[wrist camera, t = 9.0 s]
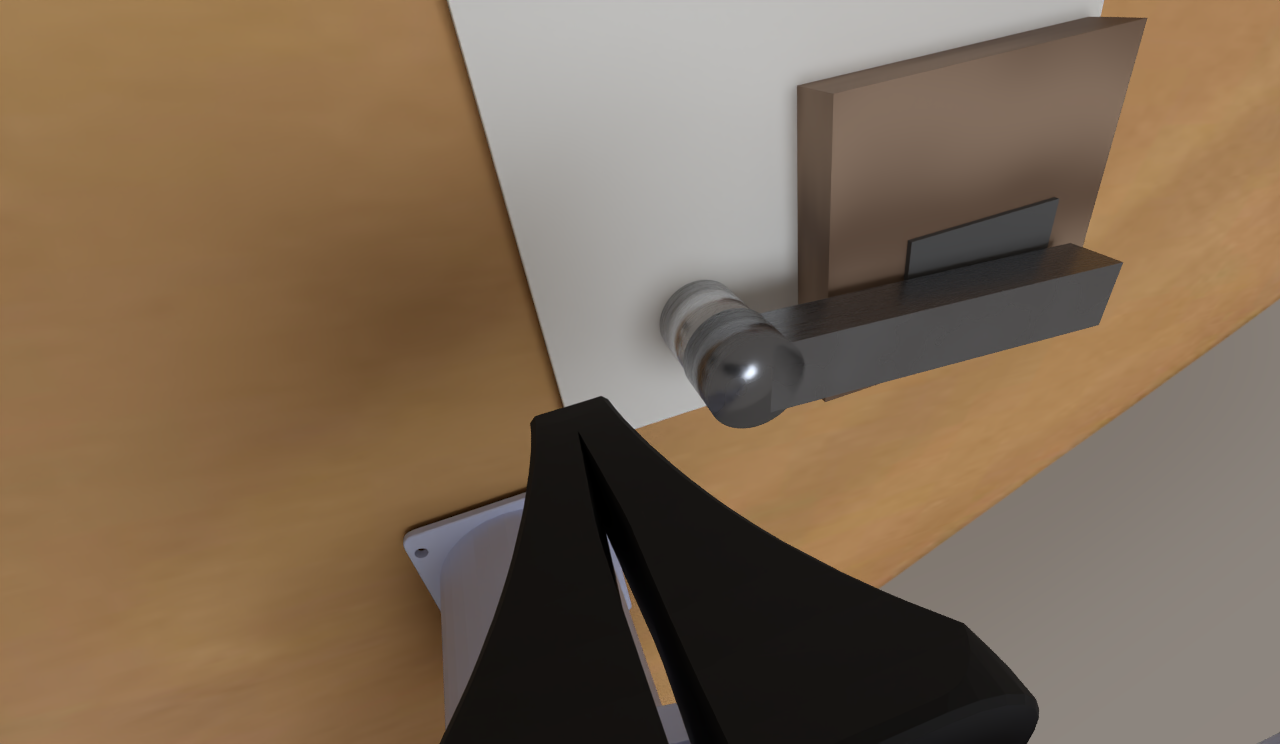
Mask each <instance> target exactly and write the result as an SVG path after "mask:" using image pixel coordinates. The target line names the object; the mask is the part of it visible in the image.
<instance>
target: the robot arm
mask: <svg viewBox="0 0 1280 744" xmlns="http://www.w3.org/2000/svg"><path fill="white" fill-rule="evenodd" d="M530 426H531V457H530V467H529V476H528V483H527V489H526V492H525V493H522V494H519V495H516V496H513V497H510V498H507V499H504V500H501V501H498V502H495V503H492V504H489V505H486V506H483V507H480V508H477V509H474V510H471V511H468V512H465V513H462V514H459V515H456V516H453V517H450V518H447V519H444V520H441V521H438V522H435V523H432V524H429V525H426V526H423V527H420V528H417V529H414V530H412V531H410V532H408V533H407V534H406V535H405V536H404V539H403V546H404V549H405V551H406V552H407V554H408V556H409V558H410V559H411V561H412V563H413V565H414V566H415V568H416V570H417V571H418V573H419V575H420V577H421V578H422V580H423V582H424V584H425V585H426V587H427V589H428V590H429V592H430V594H431V596H432V597H433V599H434V601H435V603H436V604H437V606H438V608H439V610H440V611H441V623H442V650H443V677H444V704H445V730H446V731H445V733H444V735H443V737H442V740H441V742H440V744H1027V742H1028V741H1029V739H1030V737H1031V735H1032V734H1033V732H1034V730H1035V727H1036V724H1037V721H1038V718H1039V707H1038V704H1037V701H1036V699H1035V697H1034V696H1033V695H1032V694H1031V693H1030V692H1029V690H1028V689H1027V688H1026V687H1025V686H1024V685H1023V683H1022V682H1021V681H1020V680H1019V679H1018V677H1017V676H1016V675H1015V674H1014V673H1013V672H1012V670H1011V669H1010V668H1009V667H1008V666H1007V665H1006V664H1005V663H1004V662H1003V661H1002V660H1001V659H1000V658H999V657H998V656H997V655H996V654H995V653H994V652H993V651H992V650H991V649H990V648H989V647H988V646H987V645H986V644H985V643H984V642H983V641H982V640H981V639H980V638H979V637H977V636H976V635H975V634H974V633H973V632H972V631H971V630H970V629H969V628H968V627H967V626H966V625H965V624H964V623H961V622H959V621H956V620H953V619H951V618H949V617H946V616H944V615H941V614H938V613H936V612H933V611H931V610H928V609H925V608H923V607H920V606H918V605H915V604H913V603H910V602H907V601H905V600H903V599H901V598H898V597H895V596H893V595H891V594H889V593H886V592H884V591H882V590H879V589H877V588H875V587H873V586H871V585H869V584H866V583H864V582H862V581H860V580H858V579H855V578H853V577H851V576H849V575H847V574H845V573H842V572H840V571H838V570H837V569H835V568H833V567H831V566H829V565H827V564H825V563H823V562H821V561H819V560H817V559H816V558H814V557H812V556H810V555H808V554H806V553H804V552H802V551H800V550H798V549H796V548H794V547H793V546H791V545H789V544H787V543H785V542H783V541H781V540H780V539H778V538H776V537H775V536H773V535H771V534H770V533H768V532H766V531H765V530H763V529H761V528H760V527H758V526H756V525H755V524H753V523H752V522H750V521H749V520H747V519H745V518H744V517H742V516H741V515H739V514H738V513H736V512H735V511H733V510H732V509H730V508H729V507H727V506H726V505H724V504H723V503H722V502H720V501H719V500H717V499H716V498H715V497H713V496H712V495H710V494H709V493H708V492H706V491H705V490H704V489H703V488H701V487H700V486H699V485H697V484H696V483H695V482H693V481H692V480H691V479H690V478H688V477H687V476H686V475H685V474H683V473H682V472H681V471H680V470H678V469H677V468H676V467H675V466H674V465H672V464H671V463H670V462H669V461H668V460H667V459H666V458H665V457H663V456H662V455H661V454H660V453H659V452H658V451H657V450H655V449H654V448H653V447H652V446H651V445H650V444H649V443H648V442H647V441H646V440H645V439H644V438H643V437H642V436H641V435H640V434H639V433H638V432H637V431H636V430H635V429H634V428H633V427H632V426H631V425H630V424H629V423H628V422H627V421H626V420H625V419H624V418H623V417H622V416H621V414H620V413H619V412H618V411H617V410H616V409H615V407H614V406H613V405H612V404H611V402H610V401H609V399H607V398H605V397H603V396H599V397H596V398H593V399H590V400H586V401H583V402H580V403H577V404H573V405H570V406H567V407H564V408H560V409H557V410H554V411H551V412H547V413H544V414H541V415H538V416H535V417H534V418H533V420H532V421H531V423H530ZM421 548H424V549H425V550H421V551H420V550H418V549H421ZM622 570H623V572H622ZM623 573H624V575H625V577H626V579H627V581H628V584H629V586H630V588H631V590H632V593H633V595H634V597H635V599H636V602H637V604H638V606H639V608H640V610H641V613H642V615H643V617H644V619H645V622H646V624H647V626H648V628H649V631H650V633H651V635H652V637H653V640H654V642H655V645H656V647H657V650H658V652H659V655H660V657H661V660H662V662H663V665H664V668H665V670H666V673H667V676H668V679H669V682H670V685H671V688H672V691H673V694H674V697H675V700H676V702H677V704H676V703H673V704H669V705H664V706H662V704H661V702H660V699H659V696H658V693H657V690H656V687H655V684H654V681H653V678H652V675H651V673H650V670H649V667H648V664H647V661H646V658H645V655H644V652H643V649H642V647H641V644H640V641H639V638H638V635H637V632H636V629H635V626H634V623H633V621H632V618H631V615H630V612H629V610H630V608H631V601H630V597H629V594H628V590H627V586H626V583H625V579H624V575H623ZM1257 744H1280V732H1279V733H1277V734H1275V735H1273V736H1272V737H1270V738H1268V739H1265V740H1263V741H1261V742H1260V743H1257Z"/></svg>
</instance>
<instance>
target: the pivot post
mask: <svg viewBox="0 0 1280 744" xmlns="http://www.w3.org/2000/svg"><path fill="white" fill-rule="evenodd" d="M733 308H747V309H750V308H749V307H748V306H747V305H746V304H745V303H744V302H743V301H742V300H741V299H739V298H738V297H737V296H736V295H735V294H734V293H733V292H732V291H731V290H730V289H729V288H728V287H726V286H725V285H724V284H722V283H720V282H717V281H714V280H698V281H694V282H691V283H688V284H686V285H684V286H683V287H681V288H680V289H678V290H677V291H676V292H675V293H674V294H673V295H672V296H671V297H670V298H669V300H668V301H667V303H666V304H665V306H664V308H663V310H662V313H661V317H660V332H661V336H662V338H663V340H664V342H665V343H666V345H667V346H668V348H669V349H670V350H671V352H672V353H673V354H674V356H675V357H676V359H677V360H678V361H679V363H680V364H681V366H682V367H683V368H684V366H683V357H684V352H685V348H686V346H687V343H688V341H689V339H690V338H691V336H692V334H693V333H694V332H695V330H696V329H697V328H698V327H699V326H700V325H701V324H702V323H703V322H704V321H706V320H707V319H708V318H710V317H711V316H713V315H715V314H717V313H719V312H721V311H724V310H728V309H733Z"/></svg>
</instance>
